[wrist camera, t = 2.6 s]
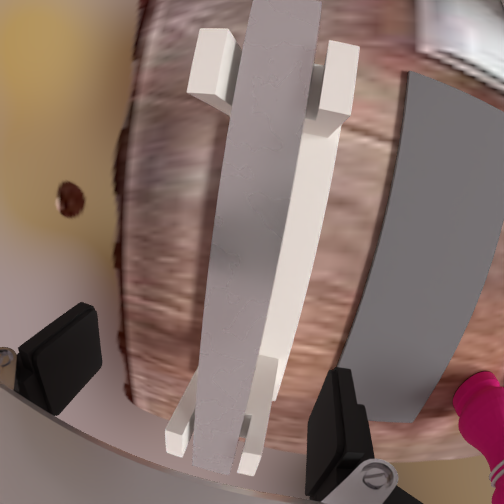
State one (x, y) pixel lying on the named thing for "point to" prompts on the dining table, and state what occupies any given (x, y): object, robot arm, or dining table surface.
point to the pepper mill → (484, 423)
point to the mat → (428, 249)
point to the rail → (251, 216)
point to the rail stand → (297, 227)
